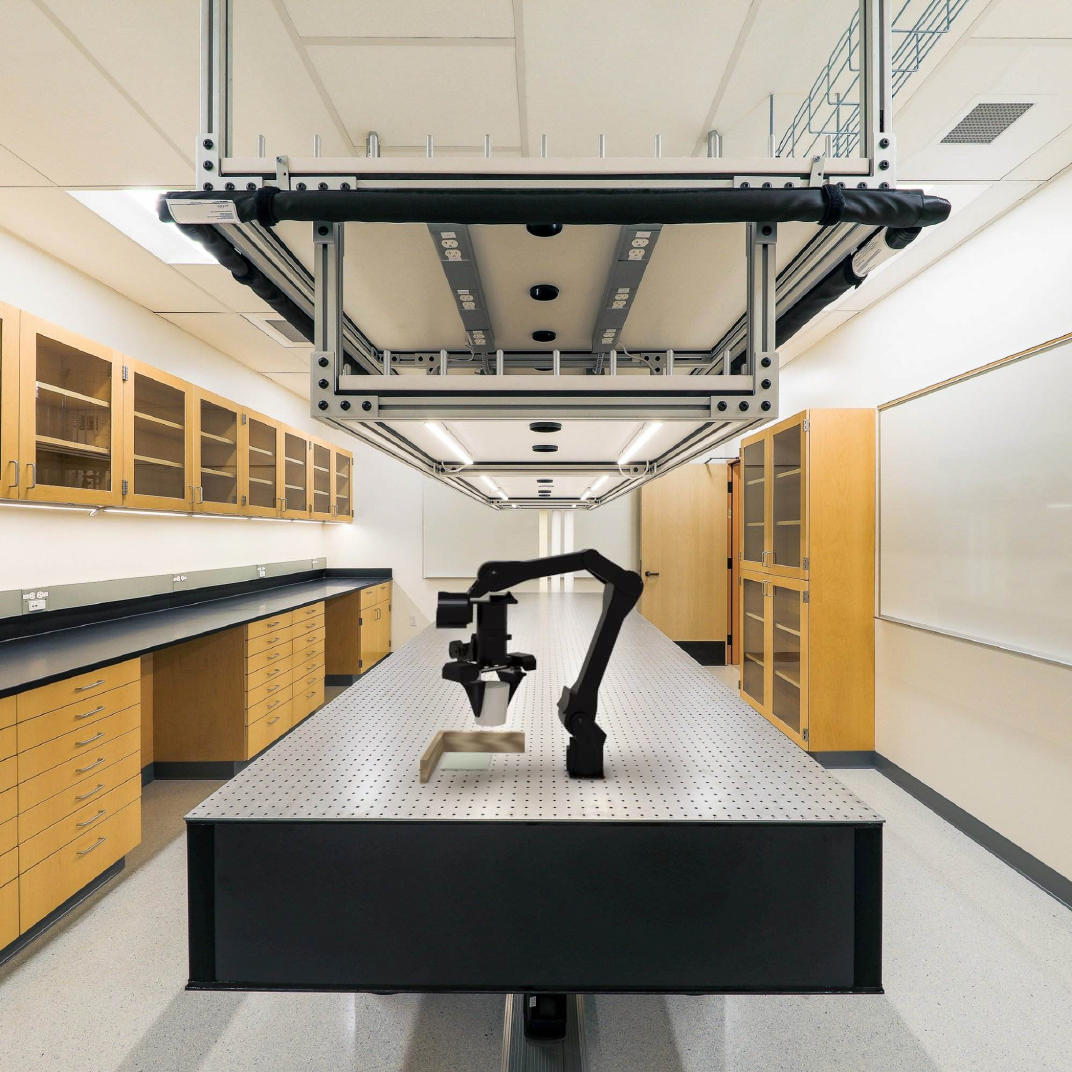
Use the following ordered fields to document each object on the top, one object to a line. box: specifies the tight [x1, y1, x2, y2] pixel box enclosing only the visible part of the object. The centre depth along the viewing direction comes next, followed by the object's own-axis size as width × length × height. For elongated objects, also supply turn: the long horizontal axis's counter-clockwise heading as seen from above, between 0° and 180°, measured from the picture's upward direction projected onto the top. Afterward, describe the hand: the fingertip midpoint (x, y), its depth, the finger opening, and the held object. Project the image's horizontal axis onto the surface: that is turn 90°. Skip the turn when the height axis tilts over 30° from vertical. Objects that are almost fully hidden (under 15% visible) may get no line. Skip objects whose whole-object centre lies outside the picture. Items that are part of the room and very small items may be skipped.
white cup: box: [474, 680, 510, 728], centre depth 109 cm, size 7×7×7 cm
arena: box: [419, 729, 526, 784], centre depth 115 cm, size 18×18×4 cm
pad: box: [440, 752, 494, 772], centre depth 117 cm, size 9×9×1 cm
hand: (490, 713), depth 109 cm, fingers closed on white cup, 6 cm apart
